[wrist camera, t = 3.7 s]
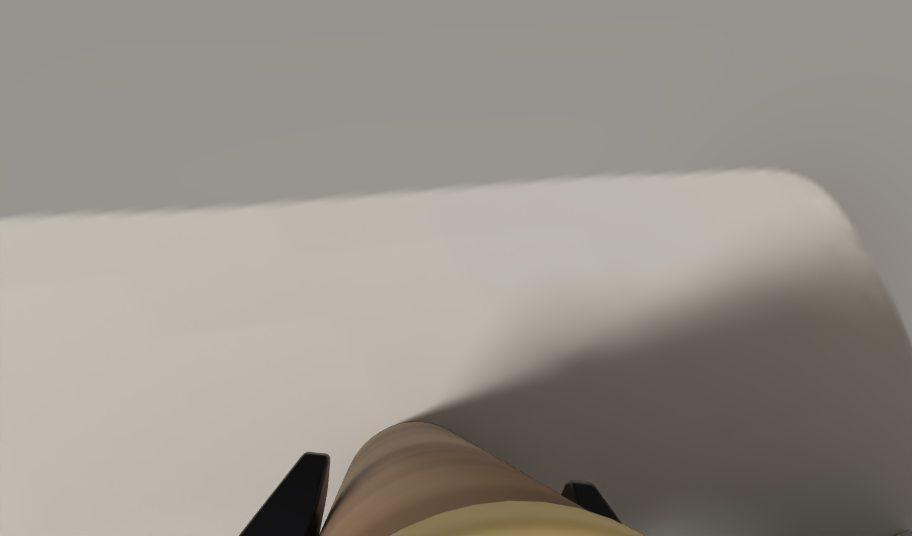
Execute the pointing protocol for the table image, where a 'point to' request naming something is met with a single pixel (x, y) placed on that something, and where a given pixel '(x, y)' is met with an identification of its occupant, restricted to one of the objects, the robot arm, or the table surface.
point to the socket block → (905, 533)
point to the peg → (449, 493)
